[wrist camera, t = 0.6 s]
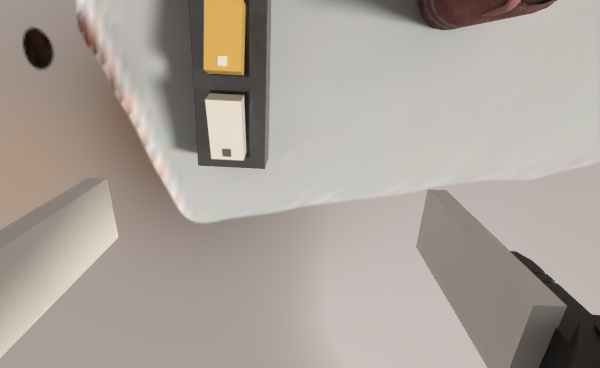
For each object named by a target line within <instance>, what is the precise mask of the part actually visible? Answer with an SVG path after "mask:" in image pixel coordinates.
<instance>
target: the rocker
mask: <svg viewBox="0 0 600 368" xmlns="http://www.w3.org/2000/svg"><path fill="white" fill-rule="evenodd" d="M205 105H206V114H207V123H208V133H209V142H210V152H211V159H221V160H241V161H244V158H245V155H246V129H245V105H244V95H232V94H213V93H210V94H209V95H208V96H207V98H206V99H205Z"/></svg>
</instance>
